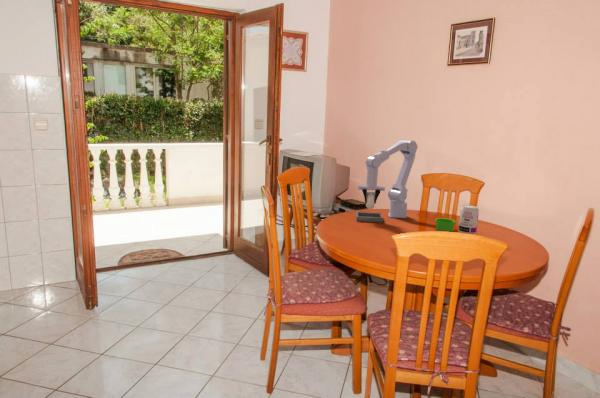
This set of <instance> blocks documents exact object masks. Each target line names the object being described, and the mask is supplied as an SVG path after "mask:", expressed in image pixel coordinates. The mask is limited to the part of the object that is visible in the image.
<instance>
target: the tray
mask: <svg viewBox="0 0 600 398" xmlns="http://www.w3.org/2000/svg"><path fill="white" fill-rule="evenodd" d="M355 218H356V222H361V221H363V223H381V224H383V223H384V217H383V215H382V213H381V212H364V211H356V212H355Z"/></svg>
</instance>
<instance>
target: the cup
mask: <svg viewBox="0 0 600 398" xmlns="http://www.w3.org/2000/svg"><path fill="white" fill-rule="evenodd" d="M434 221H435V232H436V231H449V232H452V233H453V232H454V231H453V230H454V228H455V225H456V224H455V223H456V220H454V219H451V218H444V217H437V218H435V219H434Z"/></svg>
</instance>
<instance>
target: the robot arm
mask: <svg viewBox="0 0 600 398" xmlns="http://www.w3.org/2000/svg"><path fill="white" fill-rule="evenodd" d="M417 150H418V144H417V142H416V141H415V140H406V139H399V140H398V141H396V143H395V144H394V145H392V146H391V147H389V148H387V149H380V150H379V152H377V153H375V154H373V156H372V155H371V156H368V157H367V158H366V160H365V166H366V184H365V185H357V190H359V191H360V190H361V191H362V193H363V197H364V203H365V204H366V203H367V192H368V191H374V192H375V201H374V205H376V203H377V200H378V199H379V198H378V197H379V195H380V194H381V191H382V192H385V191H386V186H378V174H379V168H380V167H381V165H382V164H383V163H384V162H385V161H387V160H389V159H390V156H392V155H394V154H396V153H397V152H400V153H401V154H402V156H403V157H404V159H403V162H402V164H401V167H400V170H399V173H398V176H397V179H396V182H395V183H394V184H393V185H391V188H390V189H389V190H388V192H387V197H388V198H389V202H390V203H389V212H388V213H387V215H388V217H389V218H396V219H397V218H398V219H406V218H407V209H408V202H407V201H406V199H407V197H408V195H407V194H408V193H407V192H408V188H407V187H406V185H407V182H408V179H409V176H410V173H411V170H412V167H413V165H414V163H415V159H416V153H417Z"/></svg>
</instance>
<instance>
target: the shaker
mask: <svg viewBox="0 0 600 398" xmlns="http://www.w3.org/2000/svg"><path fill="white" fill-rule="evenodd" d="M374 201H375V191H367V203H365V207H366V208H368V209H374V208H375V204H374Z"/></svg>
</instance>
